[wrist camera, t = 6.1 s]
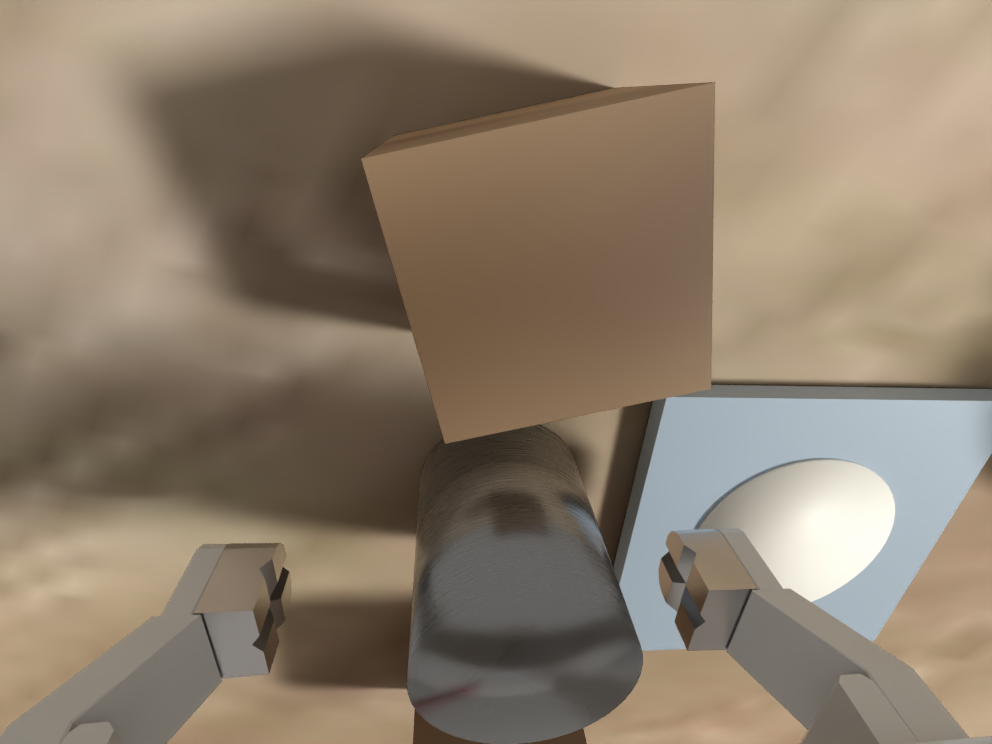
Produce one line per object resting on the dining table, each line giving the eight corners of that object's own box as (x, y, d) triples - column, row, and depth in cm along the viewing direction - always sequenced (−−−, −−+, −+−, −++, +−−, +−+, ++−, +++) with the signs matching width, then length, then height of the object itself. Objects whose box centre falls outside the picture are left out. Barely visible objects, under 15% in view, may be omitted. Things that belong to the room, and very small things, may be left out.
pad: (860, 624, 17) (876, 643, 17) (597, 634, 16) (603, 655, 16) (1000, 389, 13) (1027, 403, 12) (657, 383, 12) (668, 399, 11)
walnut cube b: (627, 296, 11) (711, 388, 8) (446, 334, 11) (445, 443, 8) (612, 87, 9) (714, 82, 6) (393, 135, 9) (360, 158, 6)
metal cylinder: (566, 540, 14) (620, 738, 10) (420, 543, 14) (407, 750, 9) (587, 418, 12) (665, 594, 8) (419, 416, 12) (405, 602, 8)
